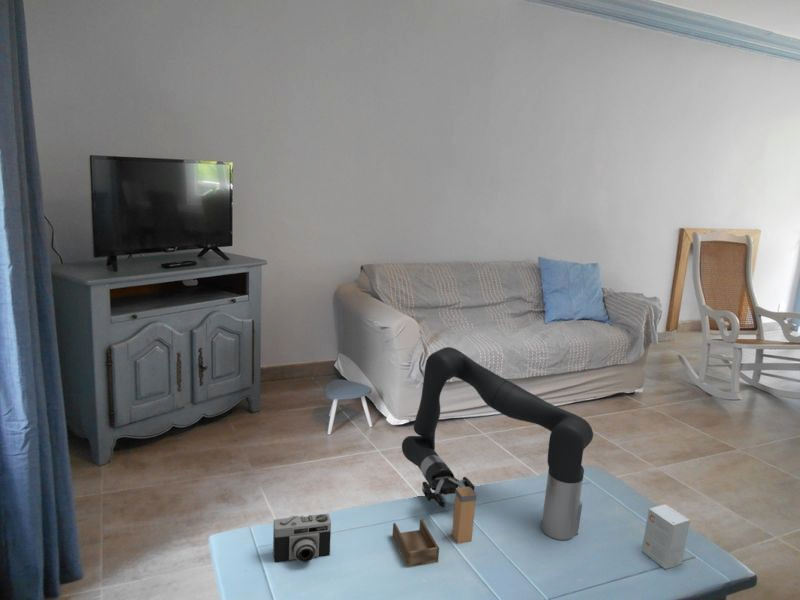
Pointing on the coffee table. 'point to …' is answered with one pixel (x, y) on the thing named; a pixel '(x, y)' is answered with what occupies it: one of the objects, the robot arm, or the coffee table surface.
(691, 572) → the coffee table surface
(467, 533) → the brown tall square block
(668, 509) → the small box
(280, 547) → the camera
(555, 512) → the robot arm
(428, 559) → the walnut box
